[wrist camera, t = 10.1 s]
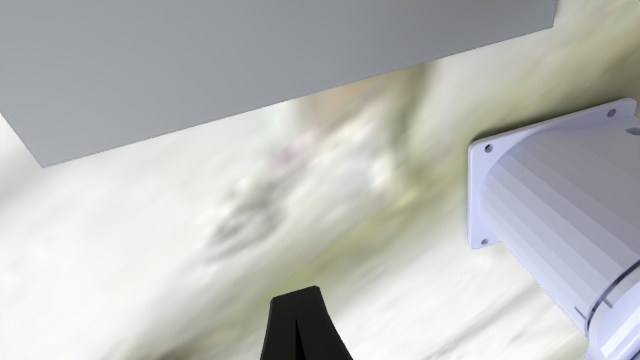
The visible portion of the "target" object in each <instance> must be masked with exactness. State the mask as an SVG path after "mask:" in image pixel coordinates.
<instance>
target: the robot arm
mask: <svg viewBox="0 0 640 360" xmlns="http://www.w3.org/2000/svg"><path fill="white" fill-rule="evenodd" d="M636 107H637V102H636V100H634V99H631V98H624V99H620V100H617V101H613V102H609V103H606V104H602V105H599V106H595V107H592V108H588V109H585V110H581V111H578V112H574V113H571V114H567V115H564V116H560V117H557V118H553V119H550V120H546V121H543V122H539V123H536V124H532V125H528V126H525V127H521V128H518V129H514V130H511V131H507V132H504V133H500V134H497V135H493V136H490V137H486V138H483V139H479V140H476V141H474V142H473V143H472V144H471V145H470V146H469V149H468V228H467V243H468V245H469V247H470V248H471V249H479V248H482V247H486V246H489V245H493V244H496V243H499V242H502V243H503V244H504V246H505V247H506V248H507V249H508V250H509V251H510V252H511V254H512V255H513V256H514V257H515V258H516V259H517V260H518V262H519V263H520V264H521V265H522V266H523V267H524V268H525V269H526V271H527V272H528V273H529V274H530V275H531V276H532V277H533V279H534V280H535V281H536V282H537V283H538V284H539V285H540V286H541V288H542V289H543V290H544V291H545V292H546V293H547V294H548V296H549V297H550V298H551V299H552V300H553V301H554V302H555V303H556V305H557V306H558V307H559V308H560V309H561V310H562V311H563V313H564V314H565V315H566V316H567V317H568V318H569V319H570V320H571V322H572V323H573V324H574V325H575V326H576V327H577V328H578V330H579V331H580V332H581V333H582V334H583V335H584V336H585V337H586V339H587V340H588V341H589V346H588V348H587V350H586V351H585V352H584V354H583V358H584V359H585V360H640V118H637V117H635V116H634V114H635V111H636ZM608 112H609V113H608ZM489 144H490V145H489ZM487 145H489V147H488V148H487V149H485V147H486V146H487ZM260 360H353V358H352V357H351V355H350V353H349V352H348V350H347V348H346V347H345V345H344V343H343V341H342V340H341V338H340V336H339V334H338V332H337V331H336V329H335V327H334V325H333V323H332V321H331V318H330V316H329V314H328V312H327V309H326V306H325V303H324V300H323V297H322V294H321V291H320V288H319V287H318V286H315V285H314V286H311V287H307V288H304V289H301V290H297V291H294V292H290V293H287V294H283V295H280V296H277V297H273V299H272V300H271V302H270V311H269V318H268V324H267V329H266V335H265V339H264V344H263V349H262V353H261V357H260Z"/></svg>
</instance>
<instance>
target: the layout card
mask: <svg viewBox="0 0 640 360" xmlns="http://www.w3.org/2000/svg"><path fill="white" fill-rule="evenodd" d="M556 1H557V0H0V113H1V114H2V116H3V117H4V118H5V120H6V121H7V122H8V124H9V125H10V126H11V128H12V129H13V130H14V132H15V133H16V134H17V135H18V137H19V138H20V139H21V141H22V142H23V143H24V145H25V146H26V147H27V149H28V150H29V151H30V153H31V154H32V155H33V157H34V158H35V159H36V160H37V162H38V163H39V164H40V166H41V167H42V168H46V167H49V166H53V165H56V164H60V163H64V162H67V161H71V160H74V159H78V158H82V157H85V156H89V155H92V154H96V153H100V152H103V151H107V150H111V149H114V148H118V147H121V146H125V145H129V144H132V143H136V142H139V141H143V140H147V139H150V138H154V137H158V136H161V135H165V134H168V133H172V132H176V131H179V130H183V129H186V128H190V127H194V126H197V125H201V124H205V123H208V122H212V121H215V120H219V119H223V118H226V117H230V116H233V115H237V114H241V113H244V112H248V111H252V110H255V109H259V108H262V107H266V106H270V105H273V104H277V103H280V102H284V101H288V100H291V99H295V98H299V97H302V96H306V95H309V94H313V93H317V92H320V91H324V90H327V89H331V88H335V87H338V86H342V85H346V84H349V83H353V82H356V81H360V80H364V79H367V78H371V77H374V76H378V75H382V74H385V73H389V72H393V71H396V70H400V69H403V68H407V67H411V66H414V65H418V64H421V63H425V62H429V61H432V60H436V59H439V58H443V57H447V56H450V55H454V54H458V53H461V52H465V51H468V50H472V49H476V48H479V47H483V46H486V45H490V44H494V43H497V42H501V41H505V40H508V39H512V38H515V37H519V36H523V35H526V34H530V33H533V32H537V31H541V30H544V29H548V28H552V27H553V24H554V16H555V9H556Z"/></svg>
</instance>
